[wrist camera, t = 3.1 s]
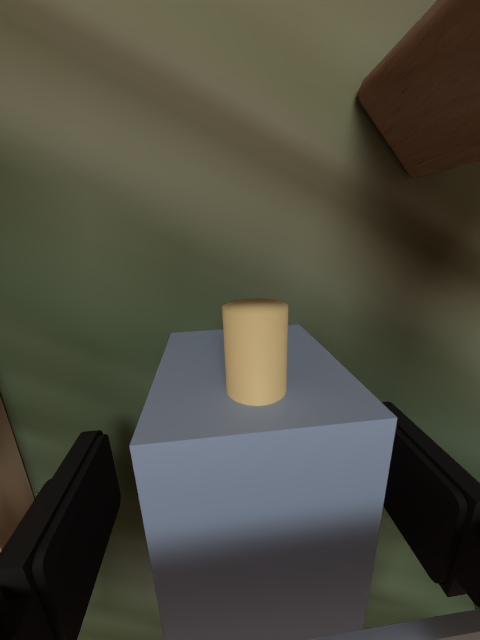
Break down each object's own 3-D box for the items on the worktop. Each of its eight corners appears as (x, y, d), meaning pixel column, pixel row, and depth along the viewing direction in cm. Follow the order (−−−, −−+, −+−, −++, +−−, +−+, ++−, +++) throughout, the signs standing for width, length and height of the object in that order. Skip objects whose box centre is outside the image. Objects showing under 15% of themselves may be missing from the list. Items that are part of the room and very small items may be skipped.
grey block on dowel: (292, 511, 14) (351, 701, 8) (192, 524, 13) (182, 737, 8) (300, 273, 10) (413, 318, 5) (165, 279, 10) (109, 338, 4)
